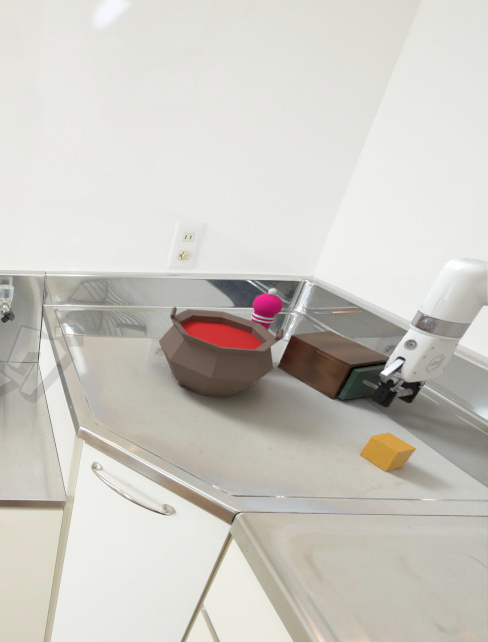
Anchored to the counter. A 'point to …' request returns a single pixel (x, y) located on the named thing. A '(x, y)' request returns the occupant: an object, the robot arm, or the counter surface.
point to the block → (387, 451)
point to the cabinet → (325, 360)
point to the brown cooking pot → (217, 351)
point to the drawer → (365, 382)
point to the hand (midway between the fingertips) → (391, 400)
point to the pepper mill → (266, 308)
